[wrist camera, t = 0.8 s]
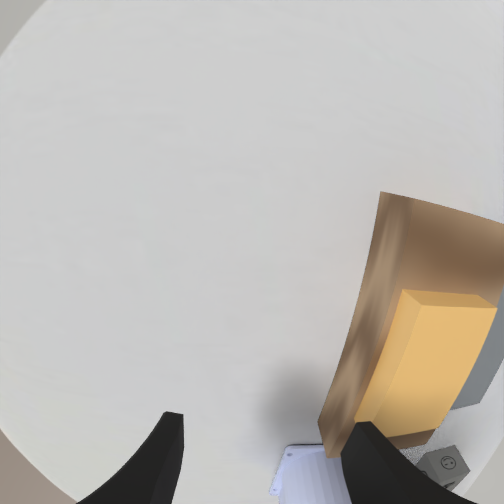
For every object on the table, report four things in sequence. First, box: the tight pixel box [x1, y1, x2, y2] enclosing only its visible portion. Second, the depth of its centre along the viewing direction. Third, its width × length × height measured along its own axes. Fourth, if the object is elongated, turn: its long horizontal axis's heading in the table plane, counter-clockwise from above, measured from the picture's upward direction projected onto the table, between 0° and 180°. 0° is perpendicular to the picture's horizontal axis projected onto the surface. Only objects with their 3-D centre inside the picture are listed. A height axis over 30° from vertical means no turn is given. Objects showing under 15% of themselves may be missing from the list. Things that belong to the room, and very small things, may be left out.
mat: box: [450, 286, 504, 410], centre depth 19 cm, size 18×11×1 cm, turn 173°
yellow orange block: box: [354, 289, 498, 437], centre depth 14 cm, size 9×6×2 cm, turn 173°
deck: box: [318, 192, 504, 458], centre depth 17 cm, size 18×9×4 cm, turn 173°
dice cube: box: [416, 445, 470, 491], centre depth 22 cm, size 5×5×5 cm
